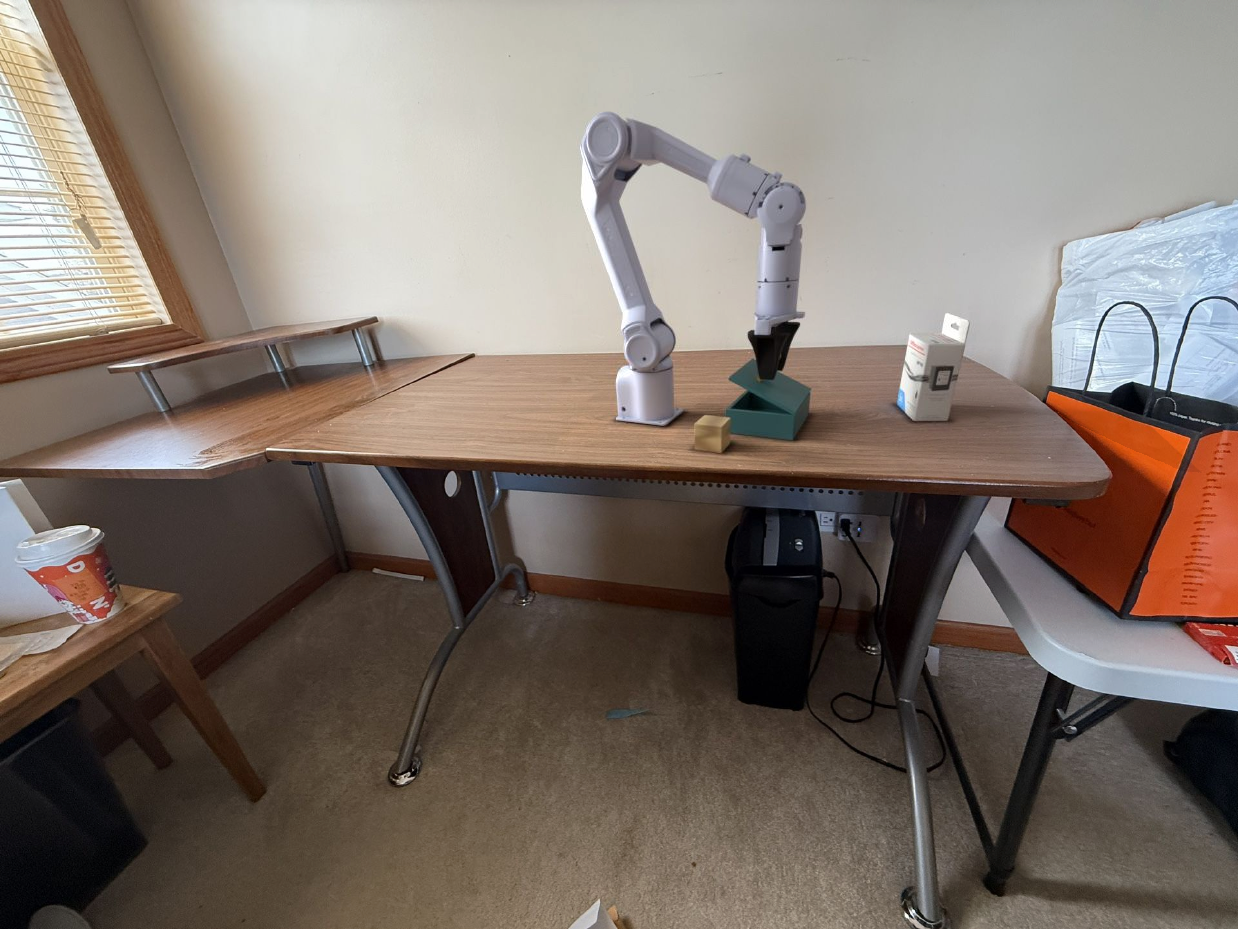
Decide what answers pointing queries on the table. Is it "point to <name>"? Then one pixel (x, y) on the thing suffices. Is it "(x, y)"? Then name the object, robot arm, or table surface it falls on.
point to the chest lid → (771, 387)
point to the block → (712, 433)
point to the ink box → (932, 371)
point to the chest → (765, 417)
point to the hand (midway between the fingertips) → (771, 374)
